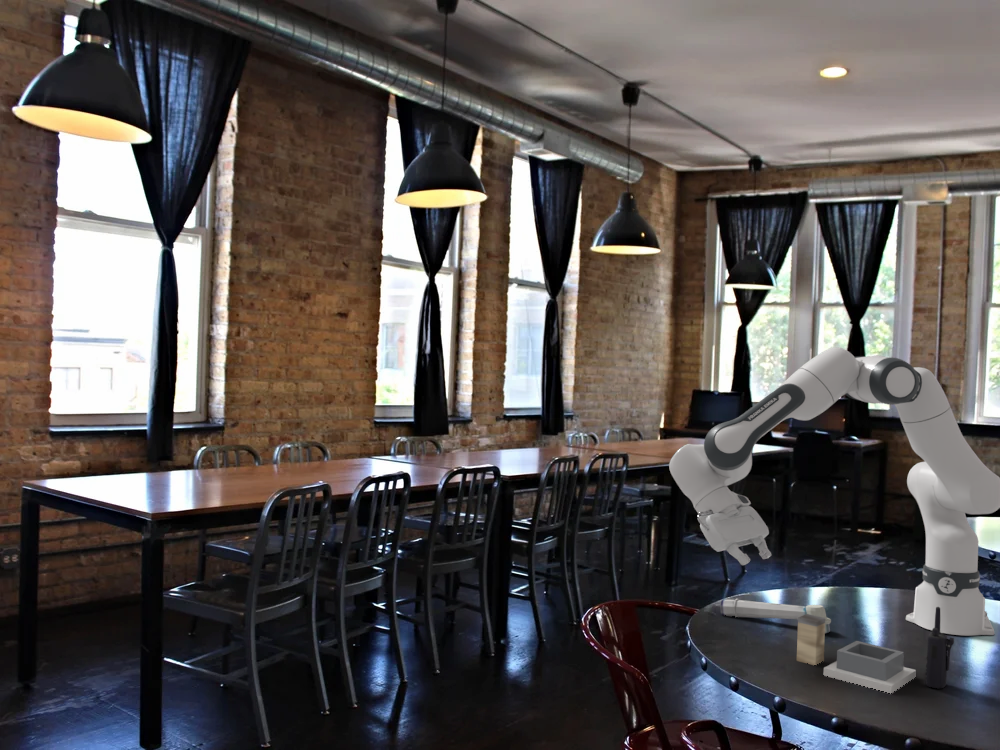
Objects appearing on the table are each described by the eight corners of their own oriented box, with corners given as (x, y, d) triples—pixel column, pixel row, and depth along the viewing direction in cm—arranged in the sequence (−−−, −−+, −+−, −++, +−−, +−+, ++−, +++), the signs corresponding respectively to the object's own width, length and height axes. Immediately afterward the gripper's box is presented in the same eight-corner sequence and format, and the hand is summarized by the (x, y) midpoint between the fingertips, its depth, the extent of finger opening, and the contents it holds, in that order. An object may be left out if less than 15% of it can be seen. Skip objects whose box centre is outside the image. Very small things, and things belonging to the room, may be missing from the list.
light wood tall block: (805, 656, 186) (806, 613, 185) (823, 661, 183) (825, 618, 183) (796, 660, 183) (798, 617, 183) (815, 665, 180) (816, 621, 180)
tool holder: (850, 660, 184) (851, 636, 183) (915, 677, 175) (916, 652, 174) (823, 675, 174) (824, 650, 174) (890, 694, 165) (891, 667, 165)
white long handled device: (725, 596, 218) (830, 599, 204) (728, 623, 218) (833, 629, 204) (718, 601, 214) (825, 604, 200) (721, 628, 213) (828, 634, 200)
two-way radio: (928, 679, 174) (931, 603, 173) (954, 684, 171) (956, 607, 171) (923, 687, 169) (926, 609, 169) (949, 693, 167) (952, 614, 166)
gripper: (703, 504, 189) (743, 558, 182) (750, 496, 203) (789, 546, 197) (684, 522, 192) (723, 575, 185) (732, 512, 207) (769, 562, 200)
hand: (757, 560), depth 191 cm, fingers open, 8 cm apart
